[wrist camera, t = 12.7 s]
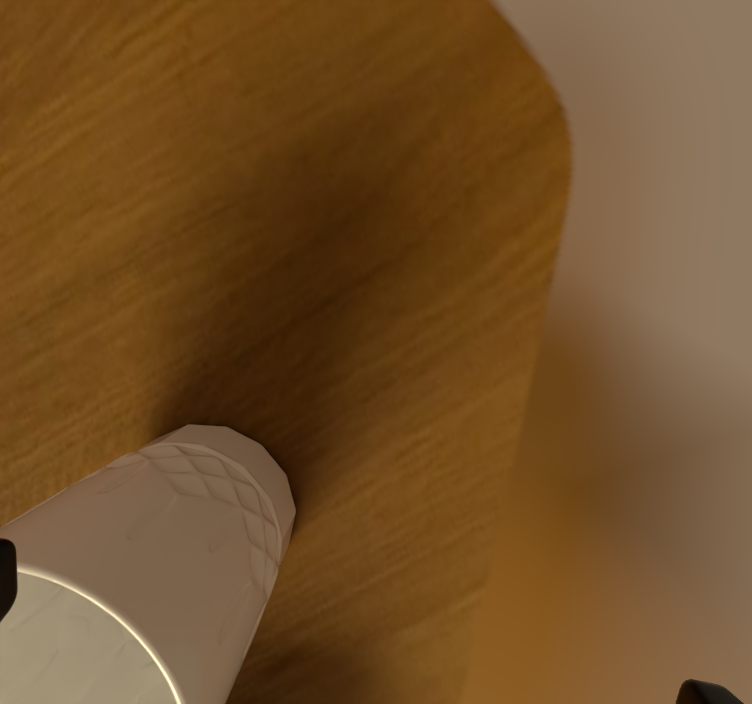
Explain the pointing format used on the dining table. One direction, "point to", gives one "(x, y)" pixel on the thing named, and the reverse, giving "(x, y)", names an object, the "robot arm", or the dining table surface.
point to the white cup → (147, 575)
